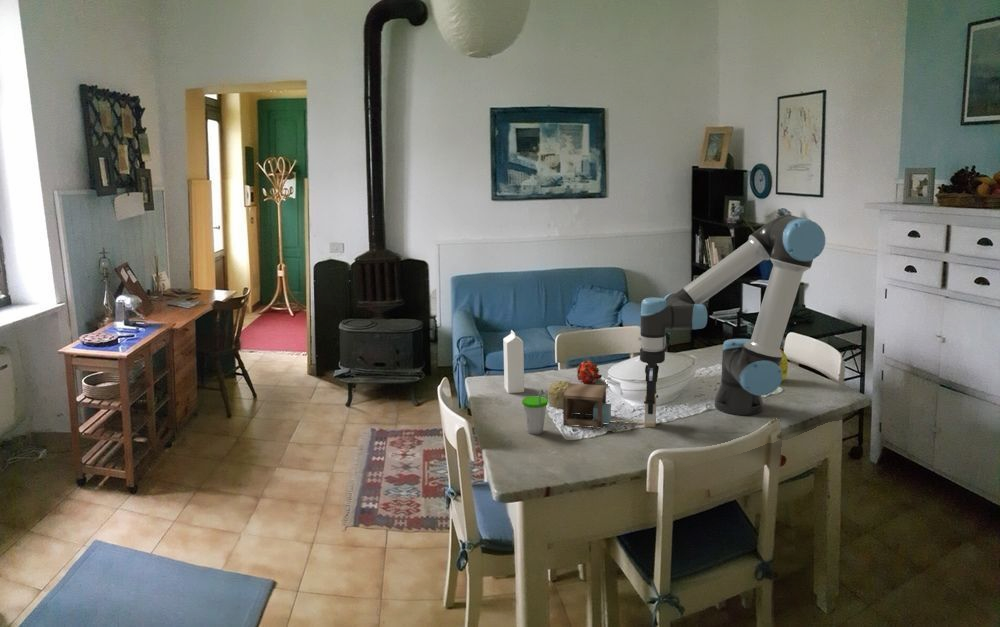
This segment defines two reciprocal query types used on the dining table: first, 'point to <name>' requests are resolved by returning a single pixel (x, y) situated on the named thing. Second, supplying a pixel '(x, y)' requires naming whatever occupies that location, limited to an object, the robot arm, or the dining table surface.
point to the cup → (535, 413)
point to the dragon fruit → (588, 372)
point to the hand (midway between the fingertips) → (650, 420)
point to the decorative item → (557, 393)
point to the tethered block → (607, 418)
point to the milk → (513, 364)
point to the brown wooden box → (583, 403)
